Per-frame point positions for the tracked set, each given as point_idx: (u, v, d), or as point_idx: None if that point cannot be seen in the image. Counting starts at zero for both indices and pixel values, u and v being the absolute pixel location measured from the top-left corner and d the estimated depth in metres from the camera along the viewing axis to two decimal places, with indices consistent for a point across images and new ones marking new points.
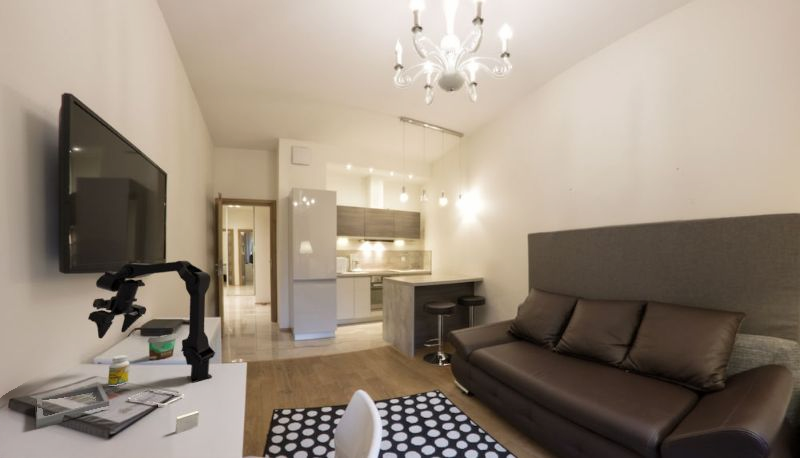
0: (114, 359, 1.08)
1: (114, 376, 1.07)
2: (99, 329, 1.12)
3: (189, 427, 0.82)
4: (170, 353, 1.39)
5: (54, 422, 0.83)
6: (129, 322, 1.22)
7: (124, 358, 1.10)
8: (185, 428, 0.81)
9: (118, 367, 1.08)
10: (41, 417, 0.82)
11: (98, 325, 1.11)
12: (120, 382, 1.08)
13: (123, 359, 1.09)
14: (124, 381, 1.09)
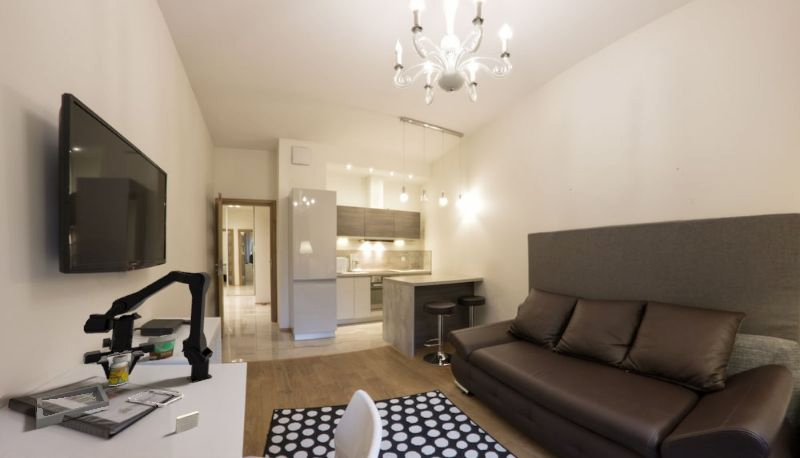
0: (114, 359, 1.08)
1: (114, 376, 1.07)
2: (104, 370, 1.07)
3: (189, 427, 0.82)
4: (170, 353, 1.39)
5: (54, 422, 0.83)
6: (131, 363, 1.11)
7: (124, 358, 1.10)
8: (185, 428, 0.81)
9: (118, 367, 1.08)
10: (41, 417, 0.82)
11: None
12: (120, 382, 1.08)
13: (123, 359, 1.09)
14: (124, 381, 1.09)
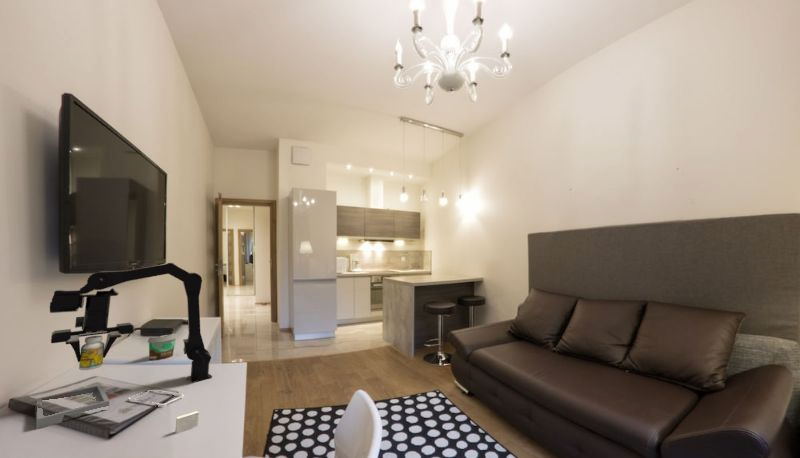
0: (86, 339, 0.97)
1: (85, 358, 0.96)
2: None
3: (189, 427, 0.82)
4: (170, 353, 1.39)
5: (54, 422, 0.83)
6: (106, 345, 1.00)
7: (98, 339, 0.99)
8: (185, 428, 0.81)
9: (90, 348, 0.97)
10: (41, 417, 0.82)
11: None
12: (92, 365, 0.97)
13: (96, 340, 0.98)
14: (97, 364, 0.98)
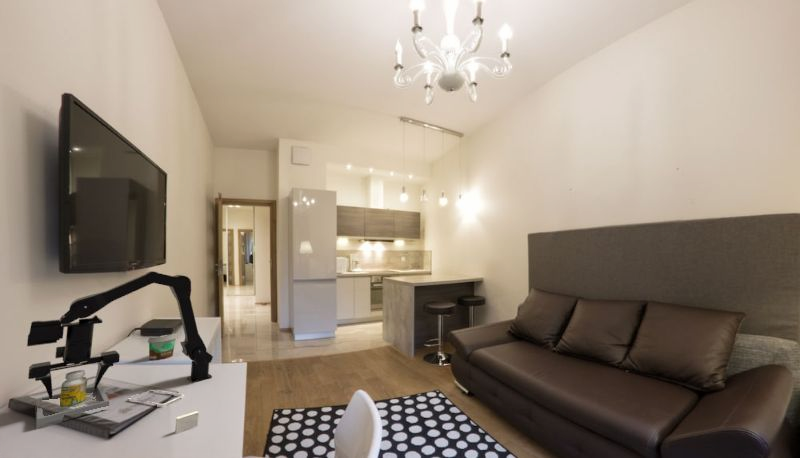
0: (67, 376, 0.91)
1: (66, 396, 0.90)
2: None
3: (189, 427, 0.82)
4: (170, 353, 1.39)
5: (54, 422, 0.83)
6: (97, 375, 0.96)
7: (80, 374, 0.92)
8: (185, 428, 0.81)
9: (71, 386, 0.90)
10: (41, 417, 0.82)
11: None
12: (74, 403, 0.91)
13: (78, 376, 0.92)
14: (80, 402, 0.92)
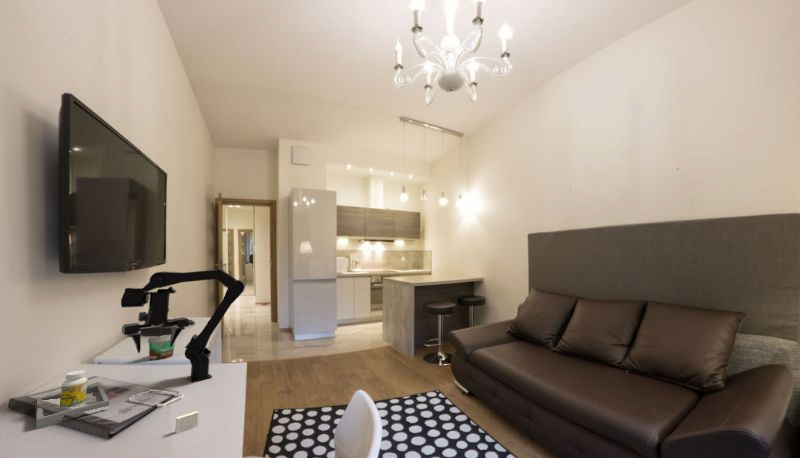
0: (68, 376, 0.91)
1: (66, 396, 0.90)
2: (135, 343, 1.07)
3: (189, 427, 0.82)
4: (170, 353, 1.39)
5: (54, 422, 0.83)
6: (172, 336, 1.14)
7: (80, 374, 0.92)
8: (185, 428, 0.81)
9: (72, 386, 0.90)
10: (41, 417, 0.82)
11: (133, 339, 1.07)
12: (75, 403, 0.91)
13: (78, 376, 0.92)
14: (80, 402, 0.92)
